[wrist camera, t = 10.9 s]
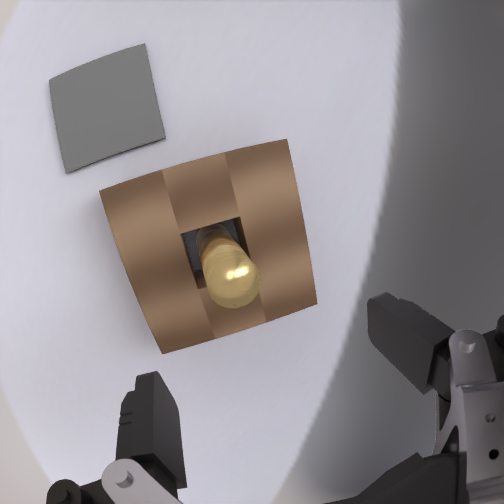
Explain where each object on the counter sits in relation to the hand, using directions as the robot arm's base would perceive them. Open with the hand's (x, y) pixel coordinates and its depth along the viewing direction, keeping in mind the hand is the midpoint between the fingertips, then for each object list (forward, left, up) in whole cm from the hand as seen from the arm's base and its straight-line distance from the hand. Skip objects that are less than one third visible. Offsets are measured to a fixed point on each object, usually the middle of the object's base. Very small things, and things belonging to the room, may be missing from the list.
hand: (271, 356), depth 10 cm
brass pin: (0, 0, -17) cm, 17 cm away
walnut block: (0, 0, -17) cm, 17 cm away
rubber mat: (-14, -6, -17) cm, 23 cm away
